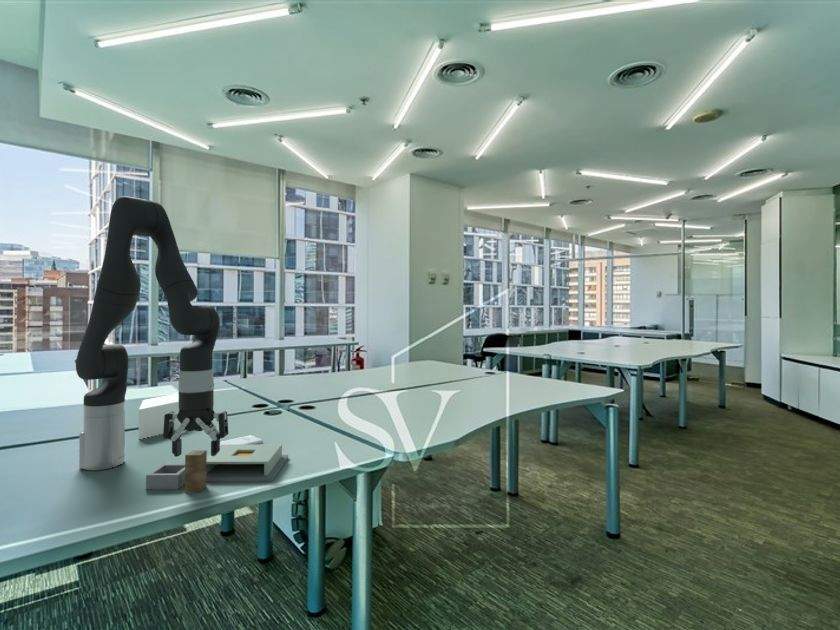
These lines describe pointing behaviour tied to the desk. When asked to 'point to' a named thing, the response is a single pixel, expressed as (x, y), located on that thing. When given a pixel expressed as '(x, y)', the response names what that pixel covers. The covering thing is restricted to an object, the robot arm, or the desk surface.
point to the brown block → (195, 471)
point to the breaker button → (243, 453)
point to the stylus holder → (166, 477)
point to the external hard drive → (242, 441)
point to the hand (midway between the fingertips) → (196, 455)
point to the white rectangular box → (157, 414)
